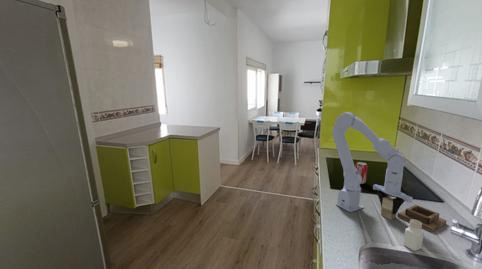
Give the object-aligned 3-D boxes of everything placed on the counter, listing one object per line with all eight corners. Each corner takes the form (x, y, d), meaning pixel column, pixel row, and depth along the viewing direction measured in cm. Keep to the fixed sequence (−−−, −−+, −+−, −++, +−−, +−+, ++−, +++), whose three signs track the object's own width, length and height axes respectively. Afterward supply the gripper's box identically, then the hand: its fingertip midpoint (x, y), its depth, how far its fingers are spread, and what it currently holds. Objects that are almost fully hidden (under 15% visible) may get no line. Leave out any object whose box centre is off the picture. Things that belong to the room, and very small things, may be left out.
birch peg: (390, 219, 91) (392, 201, 89) (380, 214, 94) (382, 197, 93) (395, 217, 93) (398, 199, 91) (386, 212, 96) (388, 195, 95)
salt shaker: (414, 252, 72) (419, 226, 70) (401, 244, 76) (405, 219, 74) (421, 249, 74) (426, 223, 72) (409, 241, 77) (412, 217, 75)
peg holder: (431, 232, 83) (433, 222, 82) (397, 216, 93) (398, 208, 92) (445, 223, 88) (447, 214, 87) (412, 210, 99) (413, 201, 98)
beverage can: (367, 185, 126) (369, 165, 123) (355, 184, 127) (357, 164, 125) (363, 181, 132) (365, 162, 129) (352, 180, 133) (354, 161, 131)
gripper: (418, 185, 86) (413, 216, 89) (381, 173, 99) (377, 201, 101) (408, 189, 83) (403, 221, 85) (371, 176, 96) (368, 204, 98)
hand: (388, 210), depth 93 cm, fingers closed on birch peg, 4 cm apart
